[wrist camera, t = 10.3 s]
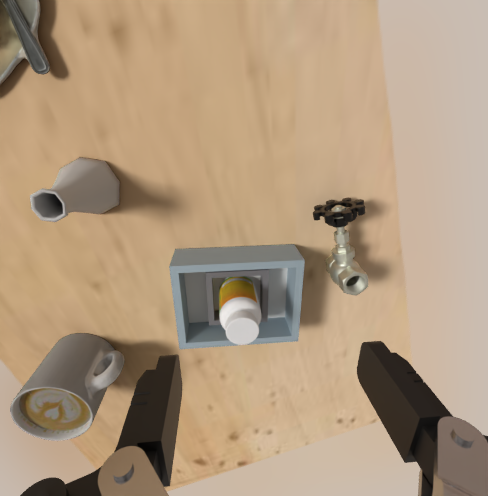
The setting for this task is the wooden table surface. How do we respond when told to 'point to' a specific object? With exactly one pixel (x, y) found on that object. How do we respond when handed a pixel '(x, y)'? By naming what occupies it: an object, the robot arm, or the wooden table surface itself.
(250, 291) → the supplement bottle
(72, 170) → the flask
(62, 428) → the coffee mug
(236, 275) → the walled box
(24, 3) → the salad plate
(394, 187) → the wooden table surface
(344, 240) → the valve
